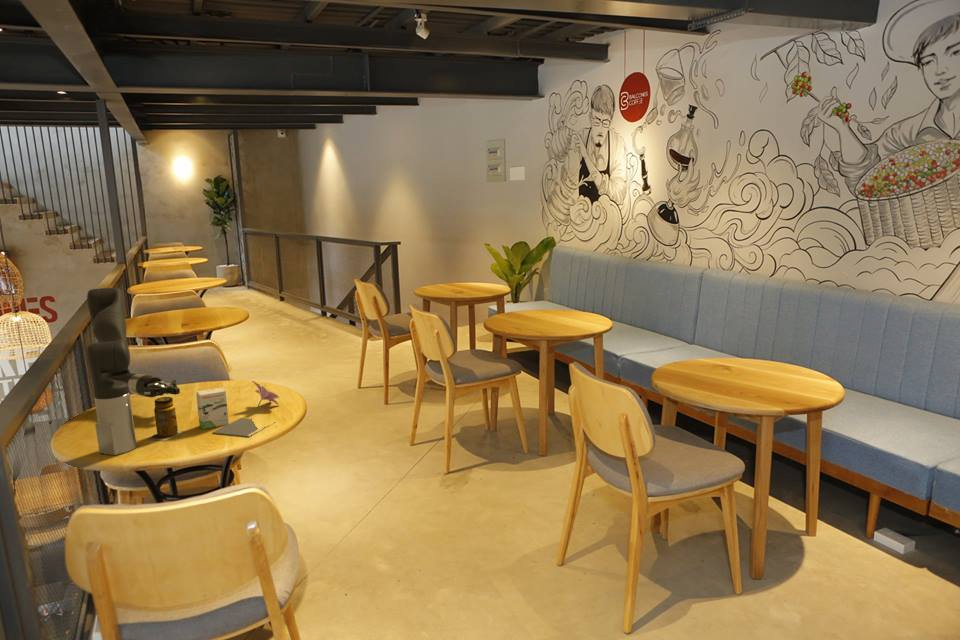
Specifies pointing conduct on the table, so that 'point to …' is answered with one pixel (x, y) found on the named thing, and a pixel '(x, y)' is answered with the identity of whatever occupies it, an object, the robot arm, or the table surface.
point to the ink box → (212, 408)
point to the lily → (265, 394)
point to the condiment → (165, 419)
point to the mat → (239, 428)
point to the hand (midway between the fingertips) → (177, 391)
